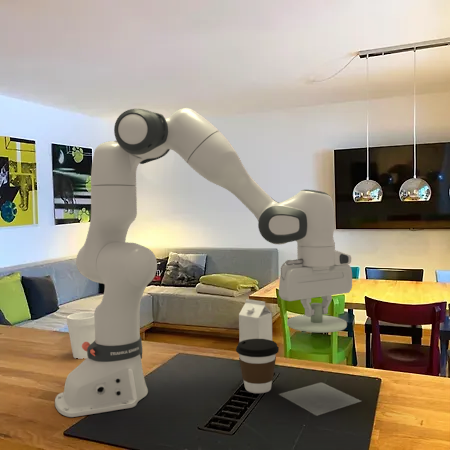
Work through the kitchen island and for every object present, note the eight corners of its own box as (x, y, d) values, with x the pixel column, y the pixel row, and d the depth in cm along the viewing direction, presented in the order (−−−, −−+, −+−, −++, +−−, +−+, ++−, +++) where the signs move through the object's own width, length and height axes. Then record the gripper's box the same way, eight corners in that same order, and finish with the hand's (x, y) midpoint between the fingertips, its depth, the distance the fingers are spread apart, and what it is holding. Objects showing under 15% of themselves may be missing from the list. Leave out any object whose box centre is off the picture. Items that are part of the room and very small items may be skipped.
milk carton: (253, 357, 145) (252, 297, 145) (272, 362, 141) (271, 299, 140) (239, 364, 140) (238, 301, 139) (259, 369, 135) (258, 304, 135)
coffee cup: (230, 396, 117) (229, 348, 116) (244, 380, 127) (243, 336, 127) (273, 401, 113) (272, 352, 113) (283, 384, 123) (283, 339, 123)
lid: (313, 335, 103) (313, 313, 103) (275, 322, 115) (275, 302, 115) (359, 326, 110) (359, 305, 110) (319, 315, 122) (318, 296, 122)
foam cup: (104, 353, 152) (103, 314, 152) (82, 362, 145) (80, 320, 144) (84, 349, 158) (83, 311, 157) (62, 357, 150) (60, 317, 149)
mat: (316, 418, 104) (316, 415, 104) (278, 396, 116) (278, 394, 116) (361, 403, 111) (361, 401, 111) (321, 384, 123) (321, 382, 123)
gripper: (289, 262, 104) (290, 323, 105) (356, 256, 114) (356, 312, 115) (272, 259, 110) (273, 318, 110) (338, 254, 120) (338, 307, 120)
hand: (316, 315), depth 113 cm, fingers closed on lid, 3 cm apart
